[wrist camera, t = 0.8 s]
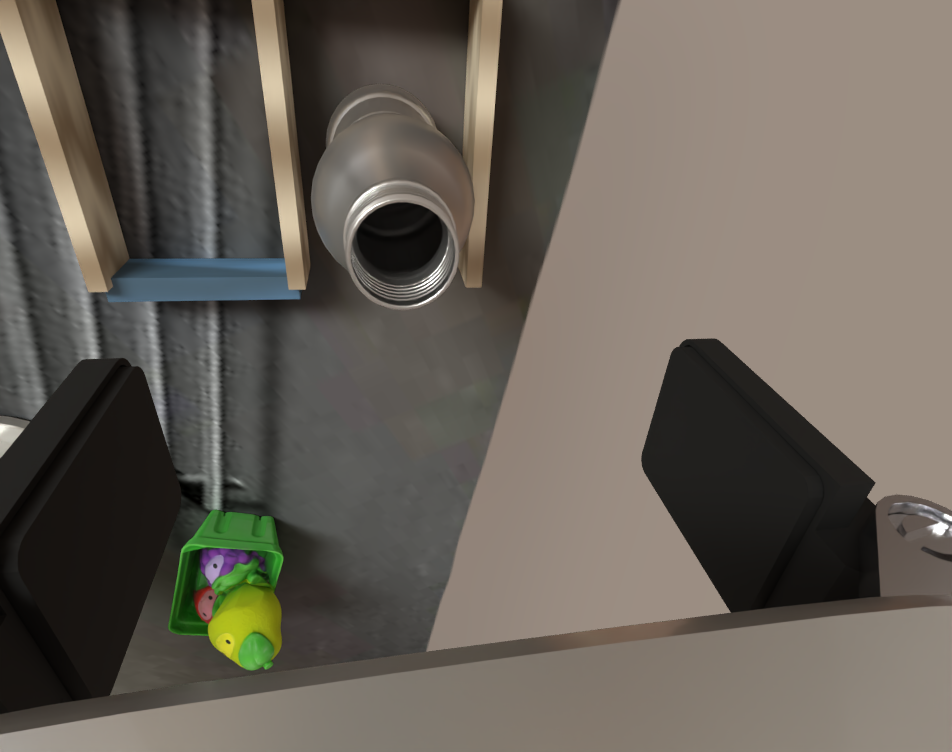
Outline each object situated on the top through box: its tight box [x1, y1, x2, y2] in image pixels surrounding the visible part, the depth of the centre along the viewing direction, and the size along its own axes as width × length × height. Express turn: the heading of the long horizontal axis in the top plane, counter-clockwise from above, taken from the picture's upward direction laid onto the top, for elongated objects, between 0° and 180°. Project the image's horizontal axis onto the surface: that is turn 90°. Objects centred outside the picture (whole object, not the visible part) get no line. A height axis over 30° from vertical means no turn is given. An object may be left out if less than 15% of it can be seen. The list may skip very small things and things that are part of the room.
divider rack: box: [0, 0, 503, 302], centre depth 31 cm, size 18×23×4 cm
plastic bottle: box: [311, 84, 475, 310], centre depth 25 cm, size 6×7×20 cm
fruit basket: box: [168, 510, 284, 670], centre depth 45 cm, size 11×9×11 cm
